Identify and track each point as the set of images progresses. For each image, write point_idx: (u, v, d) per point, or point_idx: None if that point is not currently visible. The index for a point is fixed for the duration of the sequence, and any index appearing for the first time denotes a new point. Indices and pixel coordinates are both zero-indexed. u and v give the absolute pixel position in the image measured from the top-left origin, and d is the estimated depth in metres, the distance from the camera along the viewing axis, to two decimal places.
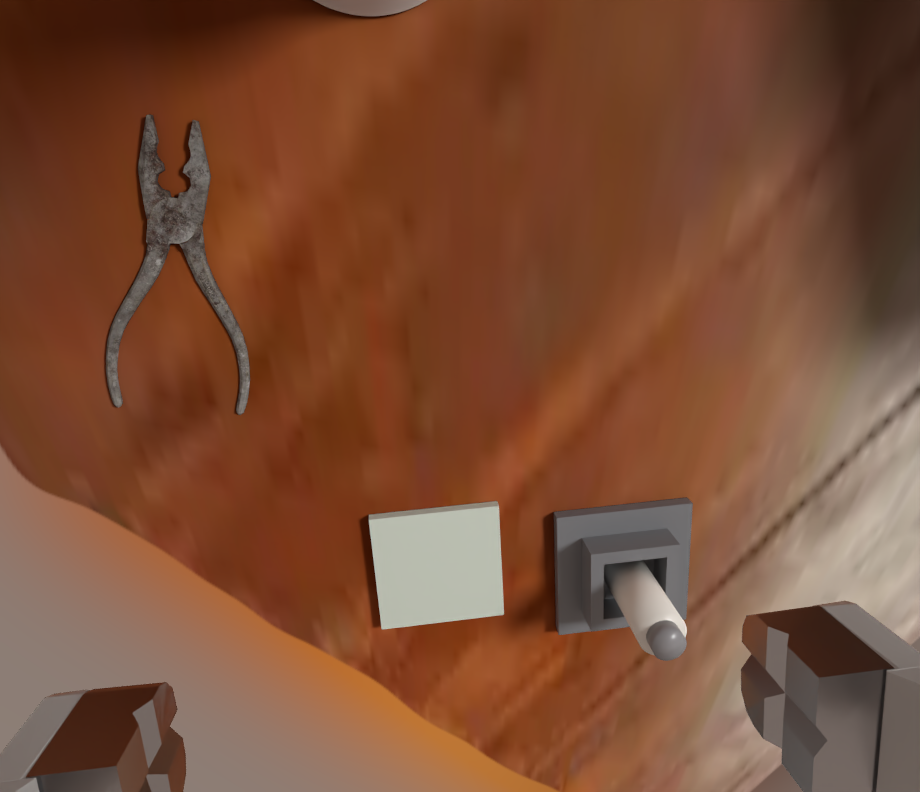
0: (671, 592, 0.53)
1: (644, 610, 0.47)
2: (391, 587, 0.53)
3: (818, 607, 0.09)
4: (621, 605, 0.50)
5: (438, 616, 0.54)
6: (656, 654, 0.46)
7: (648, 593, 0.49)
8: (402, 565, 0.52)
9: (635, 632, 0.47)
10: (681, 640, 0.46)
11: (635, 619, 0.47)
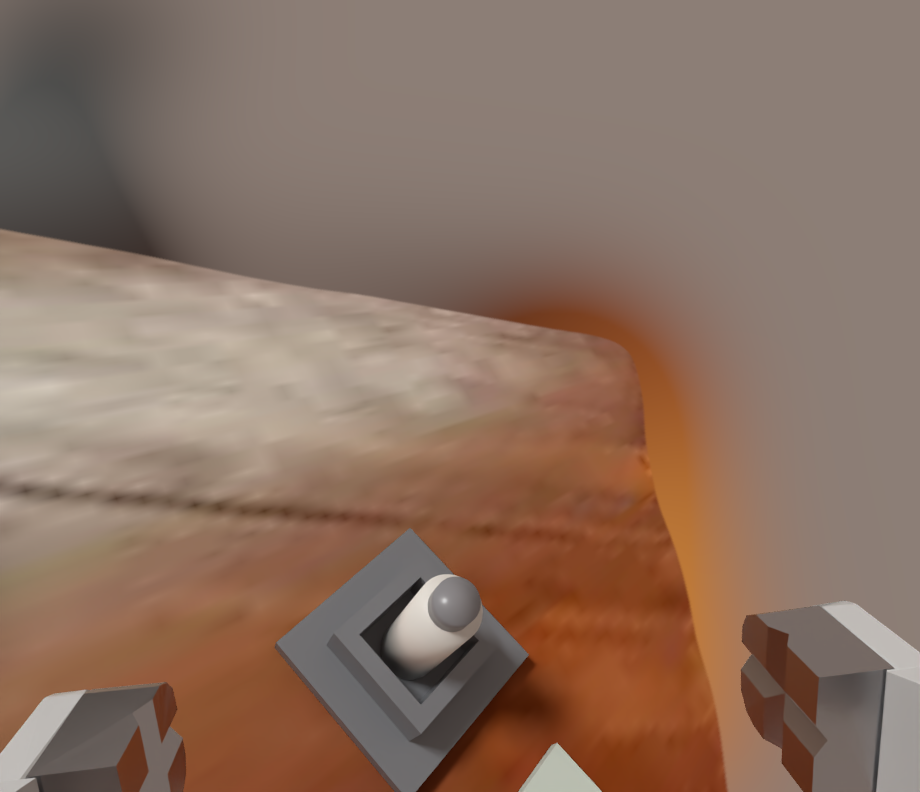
0: (394, 589, 0.39)
1: (439, 647, 0.33)
2: None
3: (817, 607, 0.09)
4: None
5: None
6: (477, 606, 0.33)
7: (415, 646, 0.35)
8: None
9: None
10: (441, 592, 0.33)
11: (457, 647, 0.34)
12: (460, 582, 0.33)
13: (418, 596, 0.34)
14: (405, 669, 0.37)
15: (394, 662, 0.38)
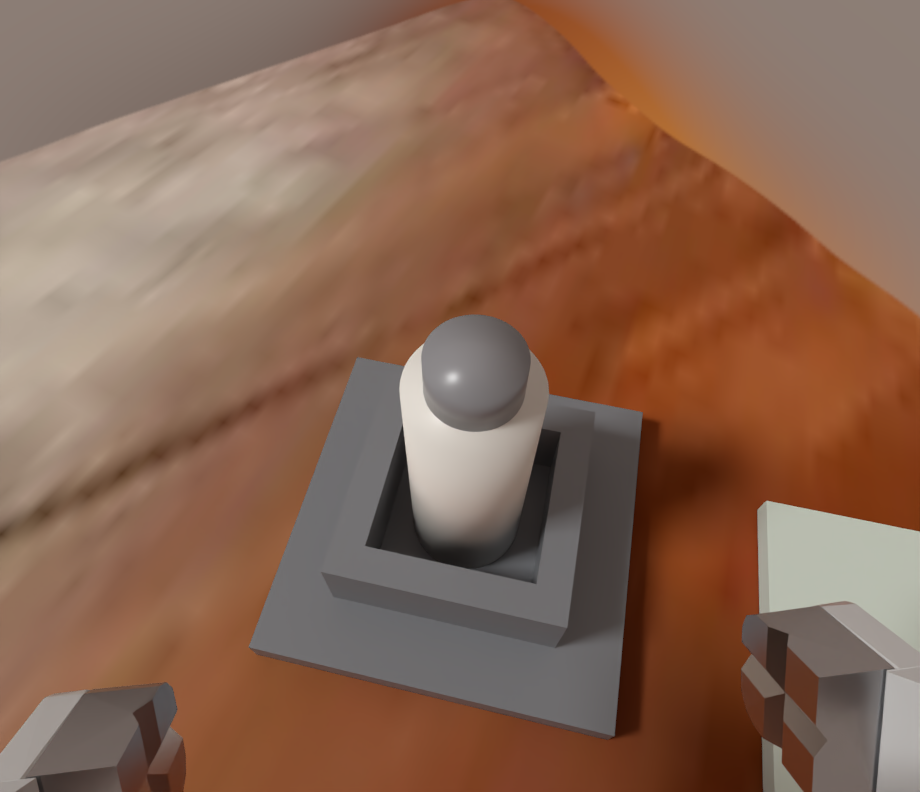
0: (380, 445, 0.21)
1: (501, 469, 0.16)
2: None
3: (817, 608, 0.09)
4: None
5: None
6: (521, 344, 0.15)
7: (460, 497, 0.17)
8: None
9: None
10: (435, 362, 0.15)
11: (532, 447, 0.16)
12: (460, 326, 0.15)
13: (402, 405, 0.15)
14: (476, 548, 0.20)
15: (453, 550, 0.20)
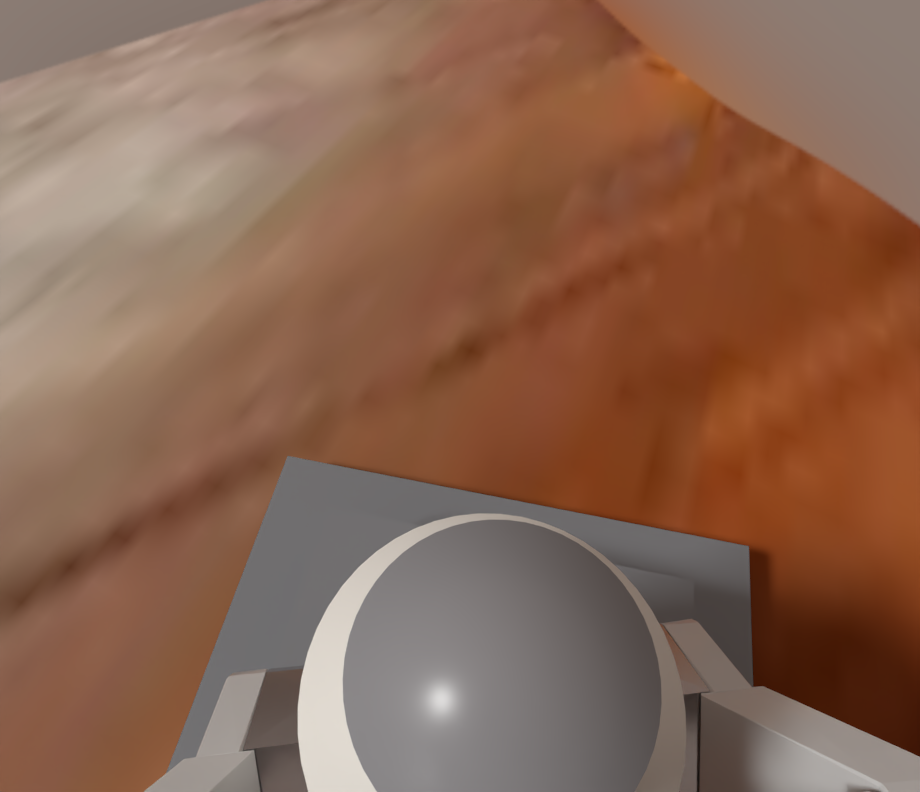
0: None
1: None
2: None
3: None
4: None
5: None
6: (626, 619, 0.05)
7: None
8: None
9: None
10: (383, 690, 0.05)
11: None
12: (455, 557, 0.06)
13: (305, 756, 0.06)
14: None
15: None
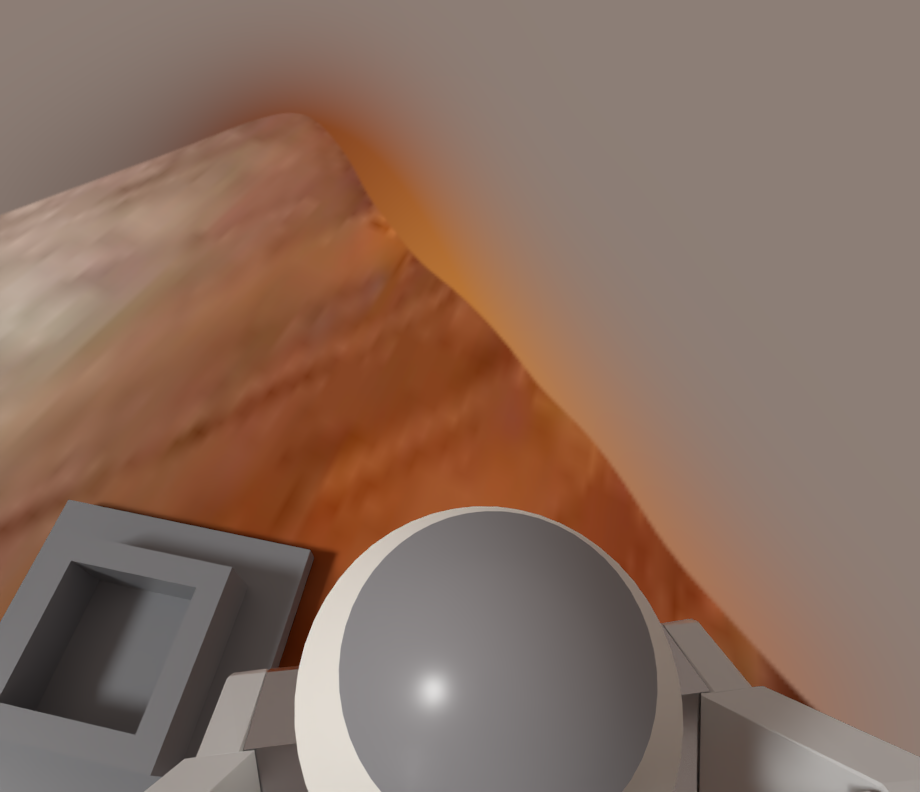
0: (34, 603, 0.24)
1: None
2: None
3: None
4: None
5: None
6: (623, 610, 0.05)
7: None
8: None
9: None
10: (379, 681, 0.05)
11: None
12: (452, 549, 0.06)
13: (302, 748, 0.06)
14: None
15: None
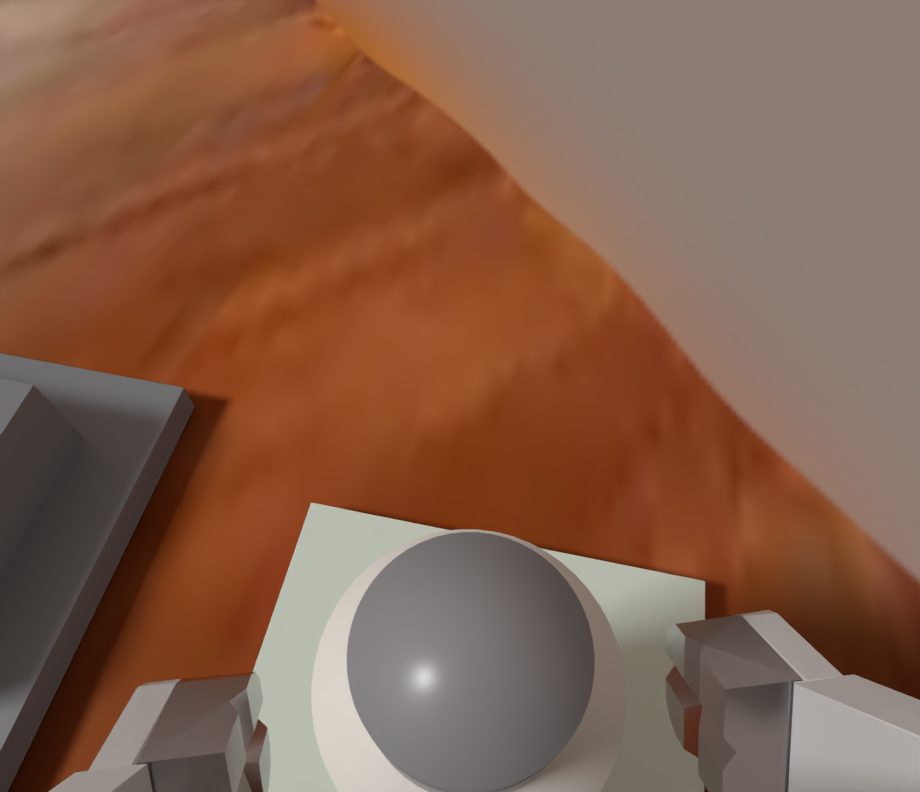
0: None
1: None
2: (650, 743, 0.14)
3: (738, 617, 0.09)
4: None
5: None
6: (569, 609, 0.07)
7: None
8: None
9: None
10: (378, 664, 0.06)
11: None
12: (435, 562, 0.07)
13: (317, 725, 0.07)
14: None
15: None
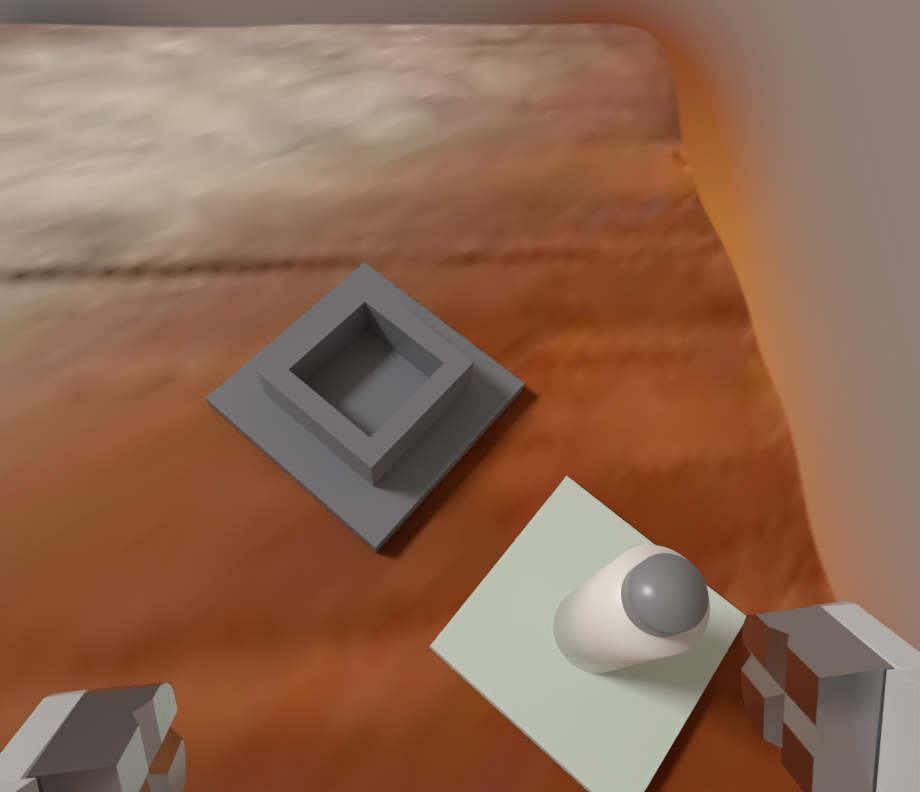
0: (331, 318, 0.32)
1: (648, 658, 0.22)
2: (682, 670, 0.28)
3: (818, 607, 0.09)
4: None
5: None
6: (704, 597, 0.21)
7: (609, 651, 0.23)
8: (638, 690, 0.28)
9: None
10: (642, 582, 0.21)
11: None
12: (669, 561, 0.21)
13: (604, 587, 0.22)
14: (595, 667, 0.27)
15: (577, 658, 0.27)
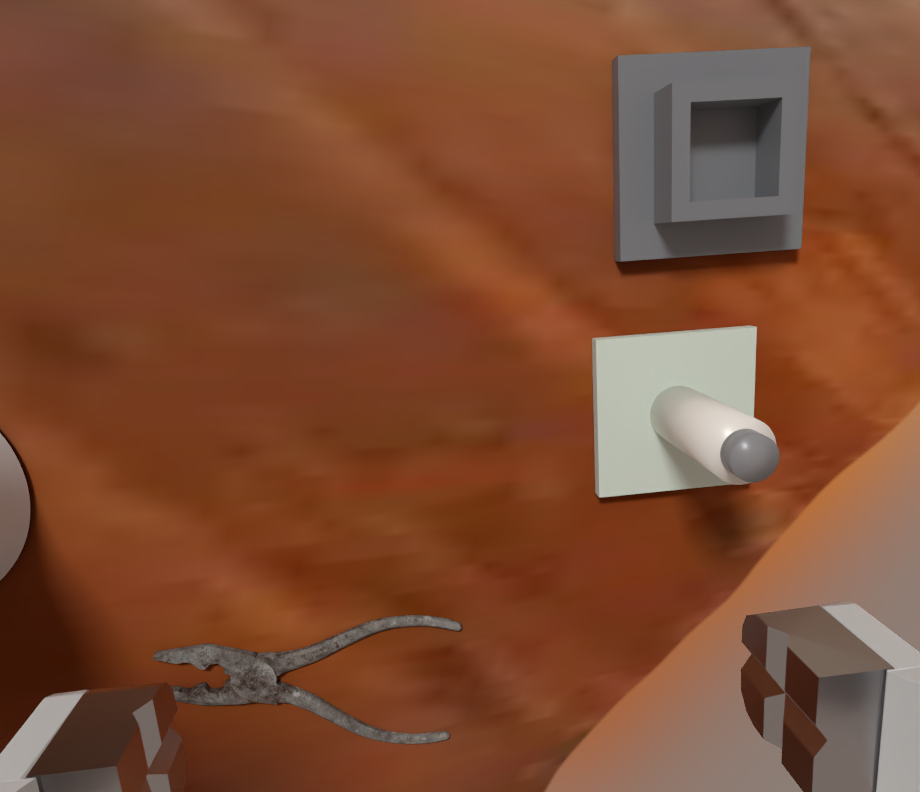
0: (750, 89, 0.35)
1: (706, 466, 0.35)
2: (694, 471, 0.42)
3: (818, 607, 0.09)
4: None
5: None
6: (766, 475, 0.33)
7: (688, 443, 0.36)
8: (665, 458, 0.42)
9: None
10: (749, 443, 0.32)
11: None
12: (771, 447, 0.32)
13: (727, 423, 0.33)
14: (663, 433, 0.40)
15: (659, 421, 0.40)
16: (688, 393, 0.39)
